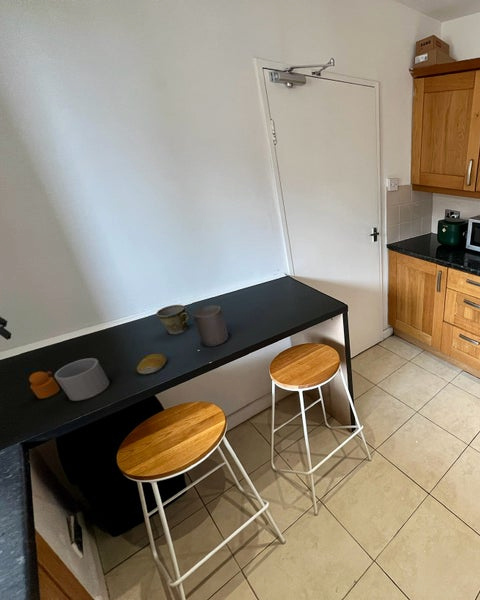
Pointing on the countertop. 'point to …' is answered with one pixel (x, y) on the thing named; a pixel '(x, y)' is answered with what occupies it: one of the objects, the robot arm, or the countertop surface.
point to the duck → (43, 384)
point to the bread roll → (151, 363)
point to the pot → (82, 379)
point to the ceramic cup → (173, 318)
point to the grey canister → (211, 325)
